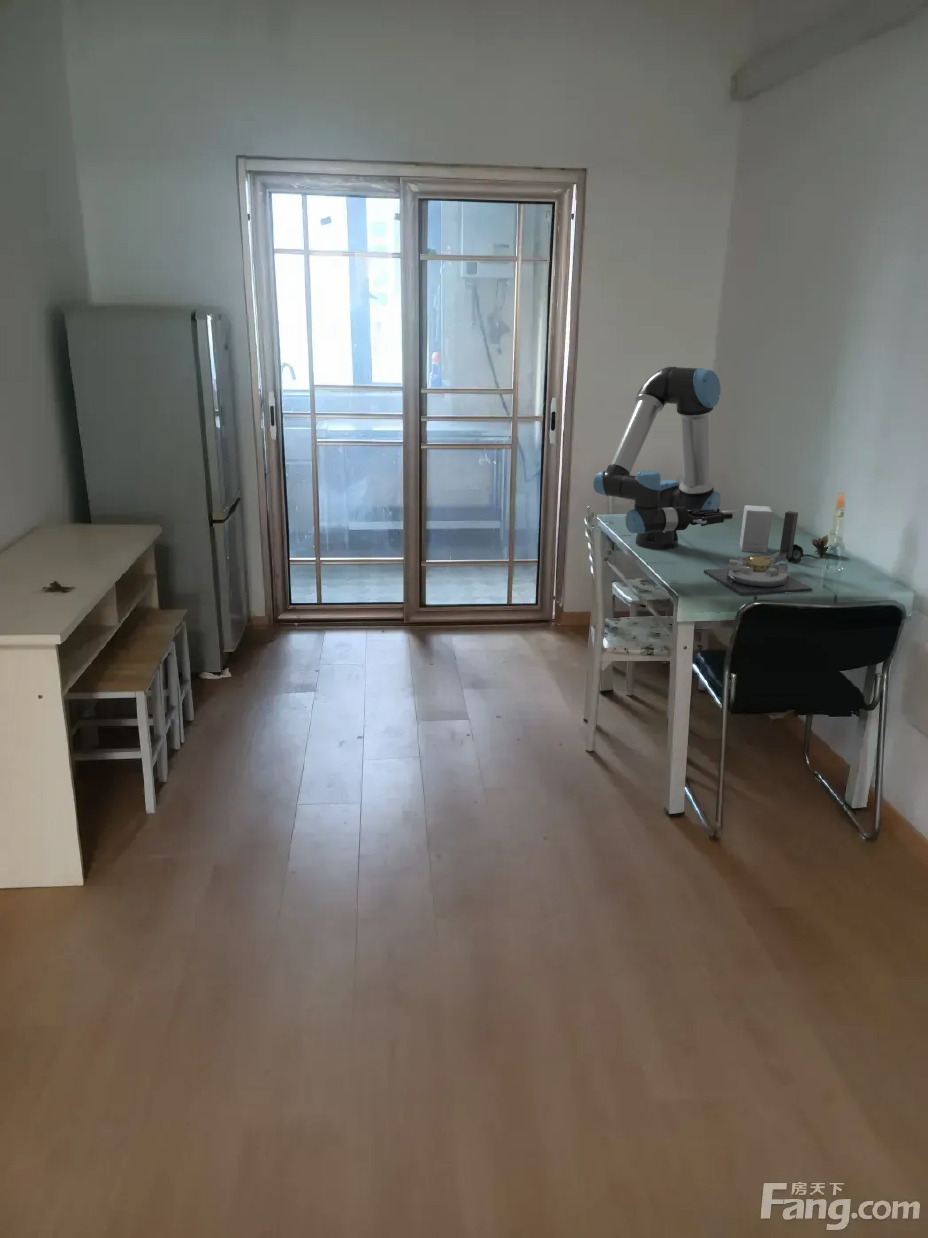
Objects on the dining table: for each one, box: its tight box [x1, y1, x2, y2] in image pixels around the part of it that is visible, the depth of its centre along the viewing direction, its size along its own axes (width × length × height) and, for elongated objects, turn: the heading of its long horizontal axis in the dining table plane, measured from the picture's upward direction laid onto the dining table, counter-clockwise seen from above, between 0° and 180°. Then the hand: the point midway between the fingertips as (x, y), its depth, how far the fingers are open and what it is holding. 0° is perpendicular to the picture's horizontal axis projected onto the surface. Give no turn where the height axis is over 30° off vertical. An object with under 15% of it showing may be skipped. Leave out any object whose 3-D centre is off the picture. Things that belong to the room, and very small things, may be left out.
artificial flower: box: [786, 534, 830, 564], centre depth 308 cm, size 9×22×10 cm, turn 120°
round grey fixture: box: [727, 510, 799, 587], centre depth 283 cm, size 30×18×18 cm, turn 137°
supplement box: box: [739, 504, 773, 554], centre depth 317 cm, size 9×9×15 cm
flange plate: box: [703, 554, 813, 597], centre depth 281 cm, size 24×24×8 cm
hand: (738, 514), depth 290 cm, fingers closed
